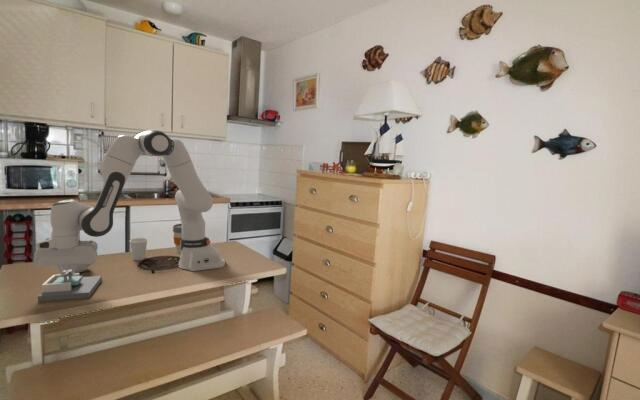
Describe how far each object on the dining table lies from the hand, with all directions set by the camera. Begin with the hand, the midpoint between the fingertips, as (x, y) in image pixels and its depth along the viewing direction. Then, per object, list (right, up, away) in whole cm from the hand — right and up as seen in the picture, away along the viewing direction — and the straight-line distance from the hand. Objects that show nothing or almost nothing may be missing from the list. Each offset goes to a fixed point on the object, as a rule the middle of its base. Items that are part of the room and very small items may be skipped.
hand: (67, 275), depth 133 cm
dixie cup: (+5, -1, +43) cm, 43 cm away
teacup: (-10, -3, +21) cm, 23 cm away
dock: (+1, -6, +1) cm, 6 cm away
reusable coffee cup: (+23, 0, +59) cm, 63 cm away
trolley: (0, -4, 0) cm, 4 cm away
